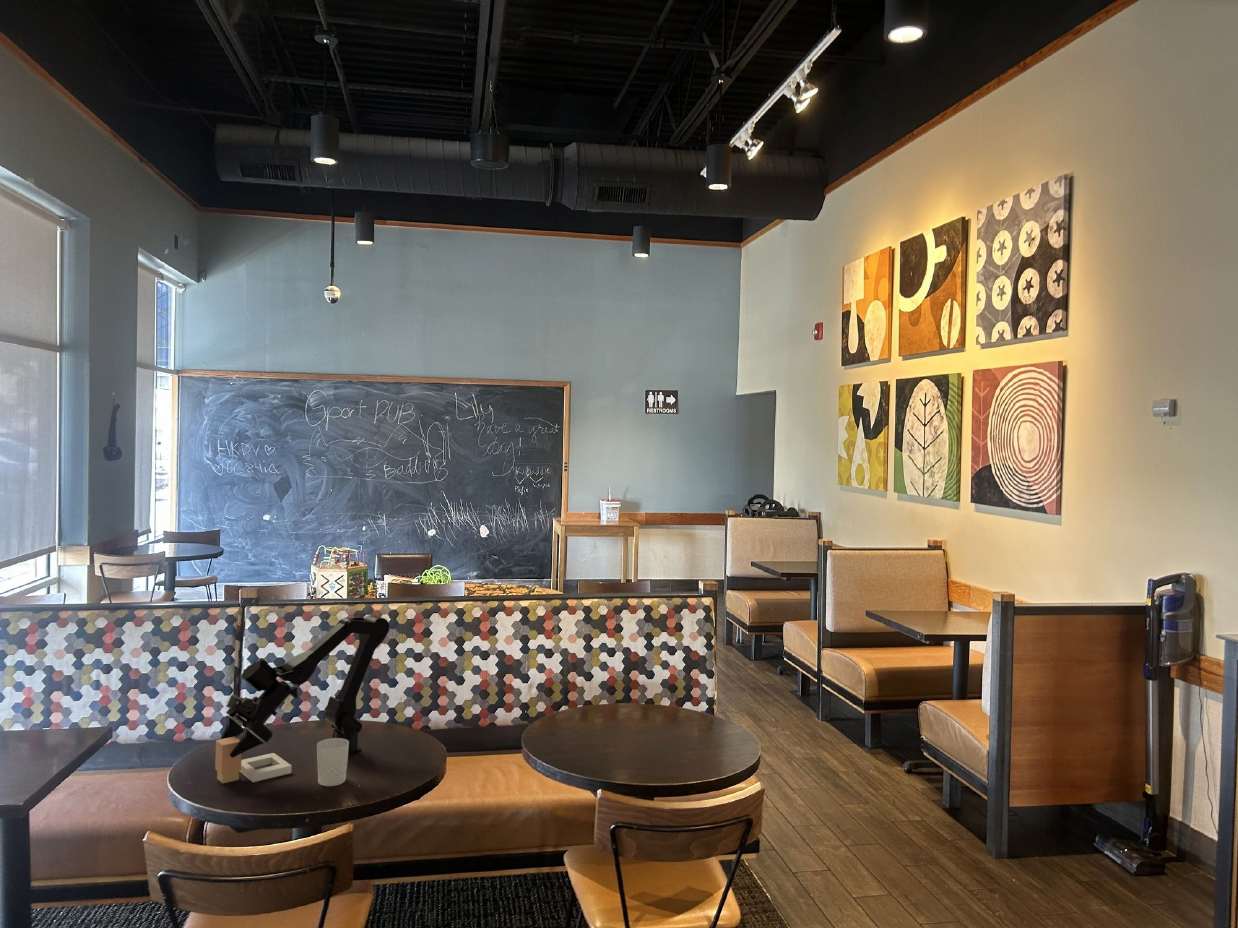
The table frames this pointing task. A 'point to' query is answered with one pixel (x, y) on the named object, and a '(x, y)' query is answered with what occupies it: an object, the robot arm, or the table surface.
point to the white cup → (332, 761)
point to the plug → (227, 760)
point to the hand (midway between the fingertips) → (224, 751)
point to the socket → (264, 767)
